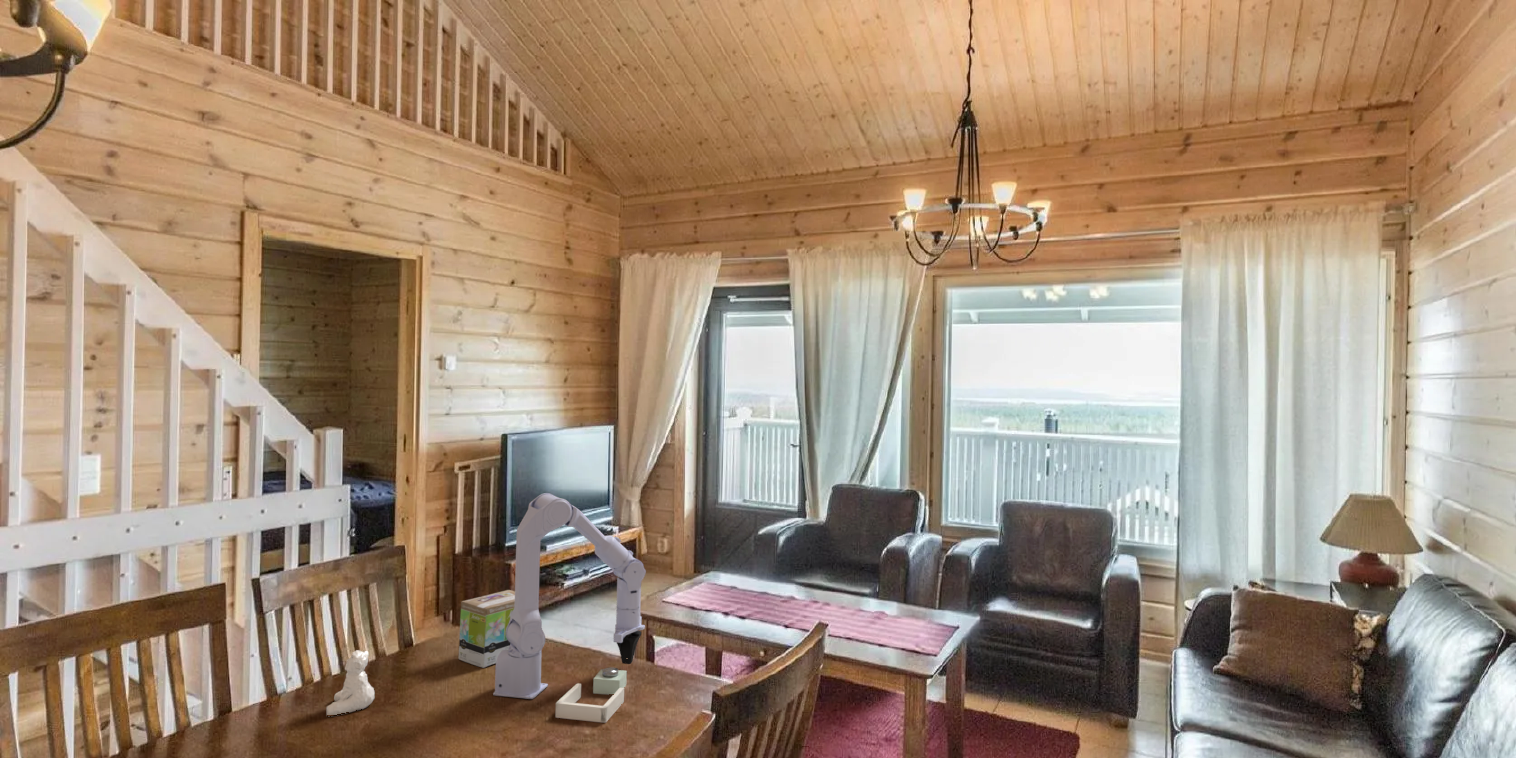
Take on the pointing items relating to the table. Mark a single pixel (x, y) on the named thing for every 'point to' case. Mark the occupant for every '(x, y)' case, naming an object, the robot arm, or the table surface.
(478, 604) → the tea box
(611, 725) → the table surface
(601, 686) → the block
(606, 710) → the housing bay
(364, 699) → the seated beast figurine
